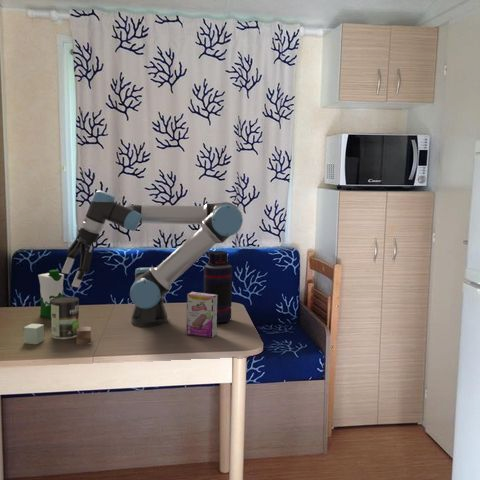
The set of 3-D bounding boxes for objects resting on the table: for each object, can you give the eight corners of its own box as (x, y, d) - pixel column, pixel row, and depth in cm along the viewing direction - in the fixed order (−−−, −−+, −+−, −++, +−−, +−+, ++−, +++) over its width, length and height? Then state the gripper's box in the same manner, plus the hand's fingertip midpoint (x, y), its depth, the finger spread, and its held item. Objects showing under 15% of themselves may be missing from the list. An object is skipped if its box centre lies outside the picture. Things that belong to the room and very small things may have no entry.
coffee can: (84, 332, 213) (83, 297, 211) (71, 340, 203) (70, 303, 201) (60, 330, 215) (59, 295, 213) (46, 338, 205) (45, 301, 203)
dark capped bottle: (235, 323, 230) (237, 253, 225) (209, 326, 224) (211, 254, 220) (222, 314, 242) (223, 248, 237) (197, 317, 237) (198, 249, 232)
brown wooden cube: (90, 339, 205) (90, 326, 204) (90, 343, 200) (90, 330, 200) (77, 340, 204) (76, 327, 203) (76, 344, 199) (76, 331, 198)
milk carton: (49, 319, 228) (48, 272, 226) (36, 315, 234) (35, 269, 231) (67, 315, 236) (66, 269, 233) (54, 311, 241) (53, 266, 238)
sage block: (44, 340, 203) (43, 324, 202) (37, 344, 198) (36, 328, 197) (31, 339, 204) (31, 323, 203) (24, 343, 199) (23, 327, 198)
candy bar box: (185, 334, 213) (186, 294, 210) (191, 331, 217) (191, 291, 215) (212, 338, 209) (213, 297, 207) (217, 334, 214) (217, 294, 211)
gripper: (72, 217, 216) (52, 265, 218) (92, 237, 196) (70, 290, 198) (89, 222, 220) (69, 269, 223) (110, 243, 201) (88, 294, 203)
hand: (69, 279), depth 211 cm, fingers open, 13 cm apart
